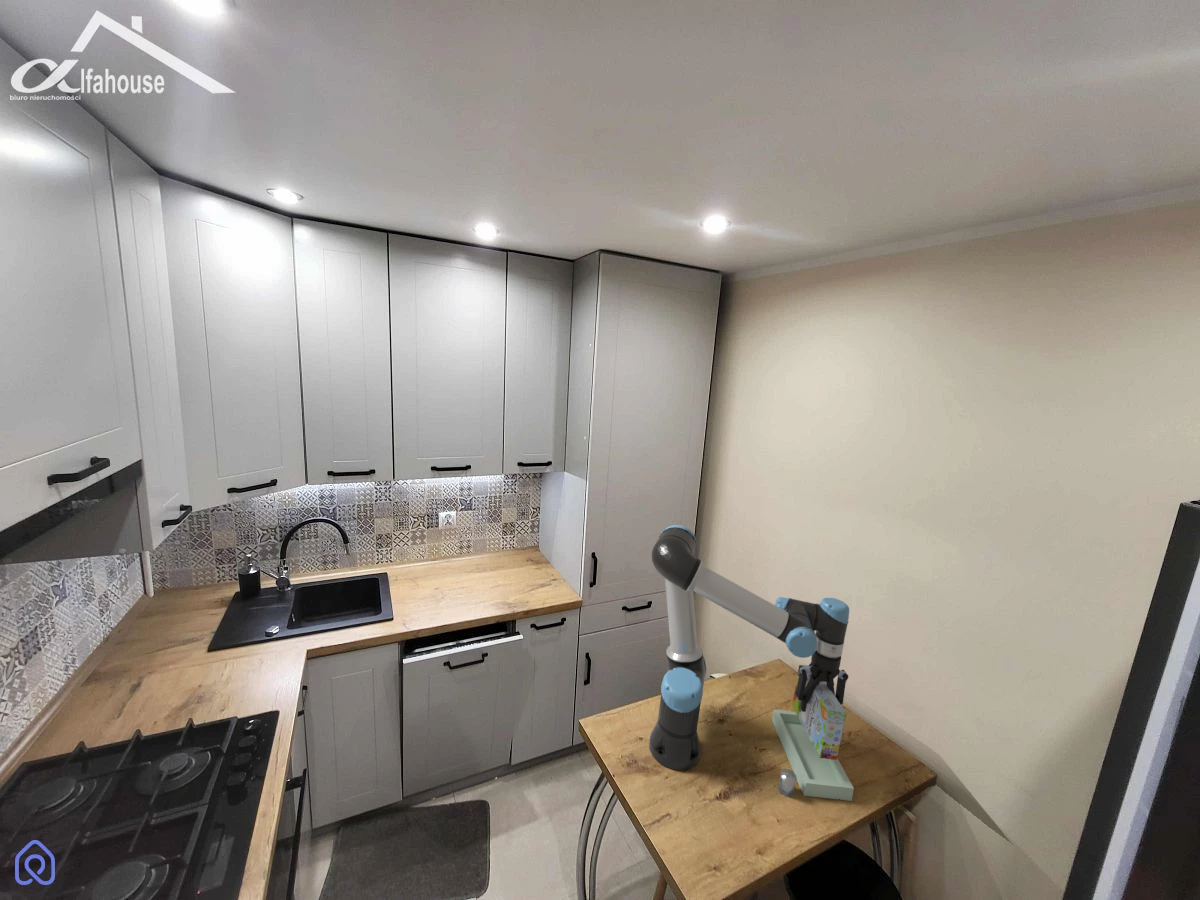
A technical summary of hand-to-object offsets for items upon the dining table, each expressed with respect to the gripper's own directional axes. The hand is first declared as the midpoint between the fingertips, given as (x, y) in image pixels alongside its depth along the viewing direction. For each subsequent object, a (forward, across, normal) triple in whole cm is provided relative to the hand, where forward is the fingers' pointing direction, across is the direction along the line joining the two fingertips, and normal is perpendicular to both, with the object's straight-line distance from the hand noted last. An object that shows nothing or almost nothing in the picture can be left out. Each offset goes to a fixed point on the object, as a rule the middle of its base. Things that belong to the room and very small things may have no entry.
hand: (814, 721), depth 140 cm
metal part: (+12, -11, -13) cm, 21 cm away
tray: (+12, 0, 0) cm, 12 cm away
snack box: (+4, 0, 0) cm, 4 cm away
